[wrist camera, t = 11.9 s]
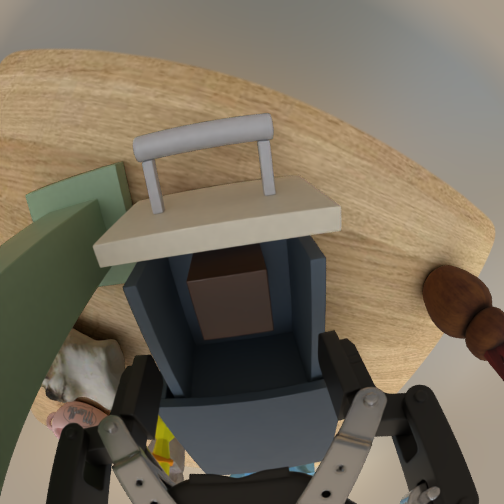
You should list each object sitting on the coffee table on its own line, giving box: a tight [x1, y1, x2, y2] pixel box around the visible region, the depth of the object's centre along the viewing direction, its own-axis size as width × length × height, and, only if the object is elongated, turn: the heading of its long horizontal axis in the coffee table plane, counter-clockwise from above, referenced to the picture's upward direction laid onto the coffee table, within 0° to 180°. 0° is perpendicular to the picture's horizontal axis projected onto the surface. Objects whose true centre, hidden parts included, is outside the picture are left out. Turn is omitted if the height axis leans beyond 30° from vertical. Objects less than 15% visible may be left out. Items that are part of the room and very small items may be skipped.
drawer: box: [93, 113, 341, 398], centre depth 17 cm, size 18×11×8 cm, turn 7°
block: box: [186, 243, 274, 340], centre depth 18 cm, size 4×4×4 cm
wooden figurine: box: [423, 265, 504, 381], centre depth 18 cm, size 7×6×15 cm
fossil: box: [148, 437, 185, 484], centre depth 28 cm, size 6×4×10 cm, turn 97°
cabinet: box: [158, 371, 338, 475], centre depth 23 cm, size 15×13×10 cm
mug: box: [46, 401, 108, 439], centre depth 28 cm, size 12×10×6 cm
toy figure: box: [152, 415, 175, 476], centre depth 24 cm, size 7×4×12 cm, turn 72°
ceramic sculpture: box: [41, 328, 125, 410], centre depth 21 cm, size 11×9×15 cm
